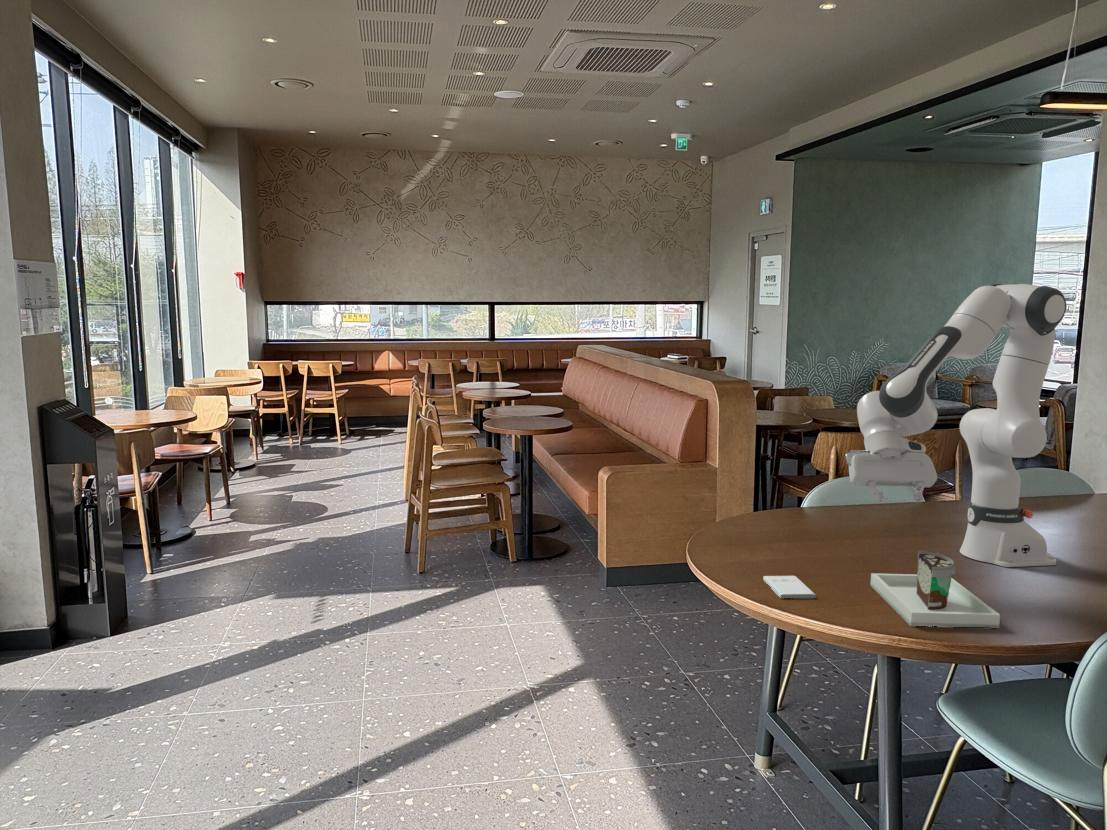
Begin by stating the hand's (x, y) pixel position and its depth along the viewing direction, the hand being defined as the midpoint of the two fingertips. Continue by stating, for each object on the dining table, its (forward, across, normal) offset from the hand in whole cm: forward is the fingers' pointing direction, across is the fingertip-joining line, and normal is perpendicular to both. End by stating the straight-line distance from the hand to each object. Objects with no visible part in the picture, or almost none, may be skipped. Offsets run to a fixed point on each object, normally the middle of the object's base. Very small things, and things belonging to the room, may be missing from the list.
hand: (899, 500), depth 188 cm
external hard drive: (+18, -26, +13) cm, 34 cm away
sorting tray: (+24, +2, +4) cm, 25 cm away
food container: (+24, +4, +3) cm, 25 cm away
